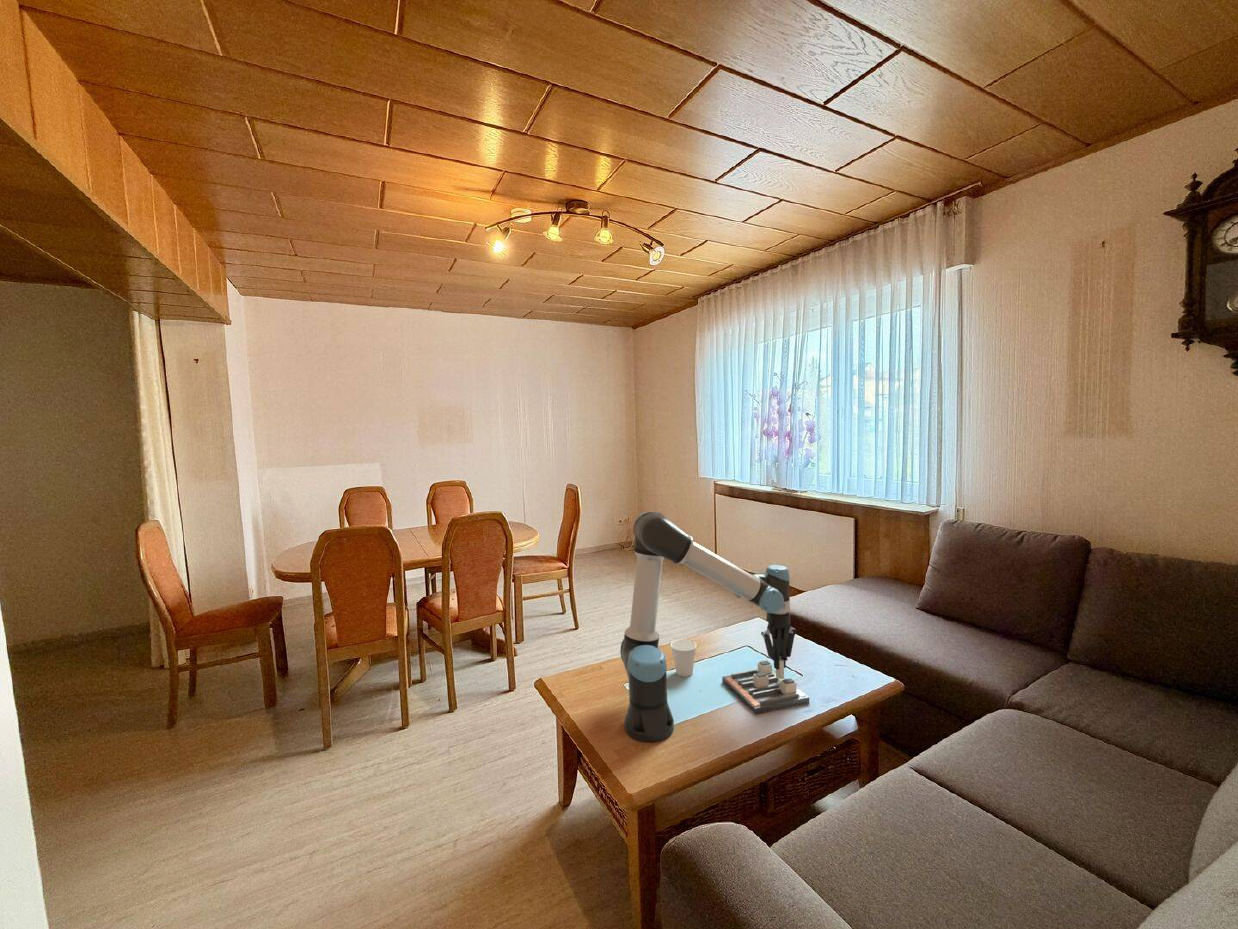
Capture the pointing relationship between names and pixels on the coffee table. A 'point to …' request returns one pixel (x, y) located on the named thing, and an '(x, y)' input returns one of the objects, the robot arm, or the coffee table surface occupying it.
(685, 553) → the robot arm
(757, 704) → the panel
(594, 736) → the coffee table surface
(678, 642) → the cup
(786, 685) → the block
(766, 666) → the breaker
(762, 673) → the block
